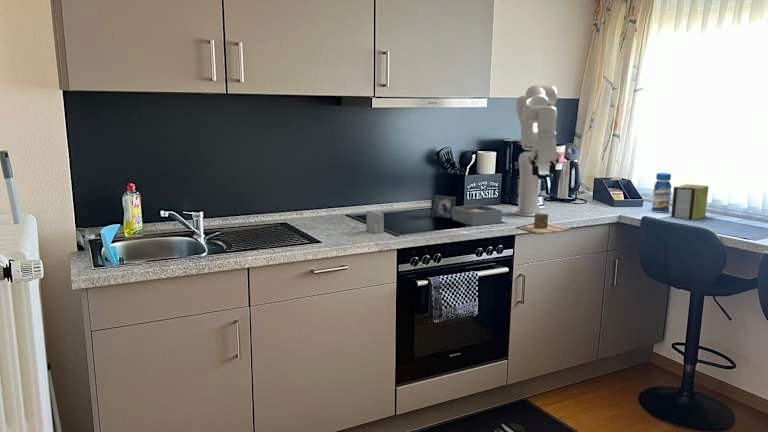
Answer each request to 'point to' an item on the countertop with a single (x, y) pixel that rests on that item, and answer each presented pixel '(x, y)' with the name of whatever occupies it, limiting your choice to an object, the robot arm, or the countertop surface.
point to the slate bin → (477, 215)
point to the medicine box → (375, 222)
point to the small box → (442, 206)
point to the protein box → (689, 201)
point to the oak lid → (542, 225)
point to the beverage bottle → (661, 193)
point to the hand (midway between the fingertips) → (543, 174)
